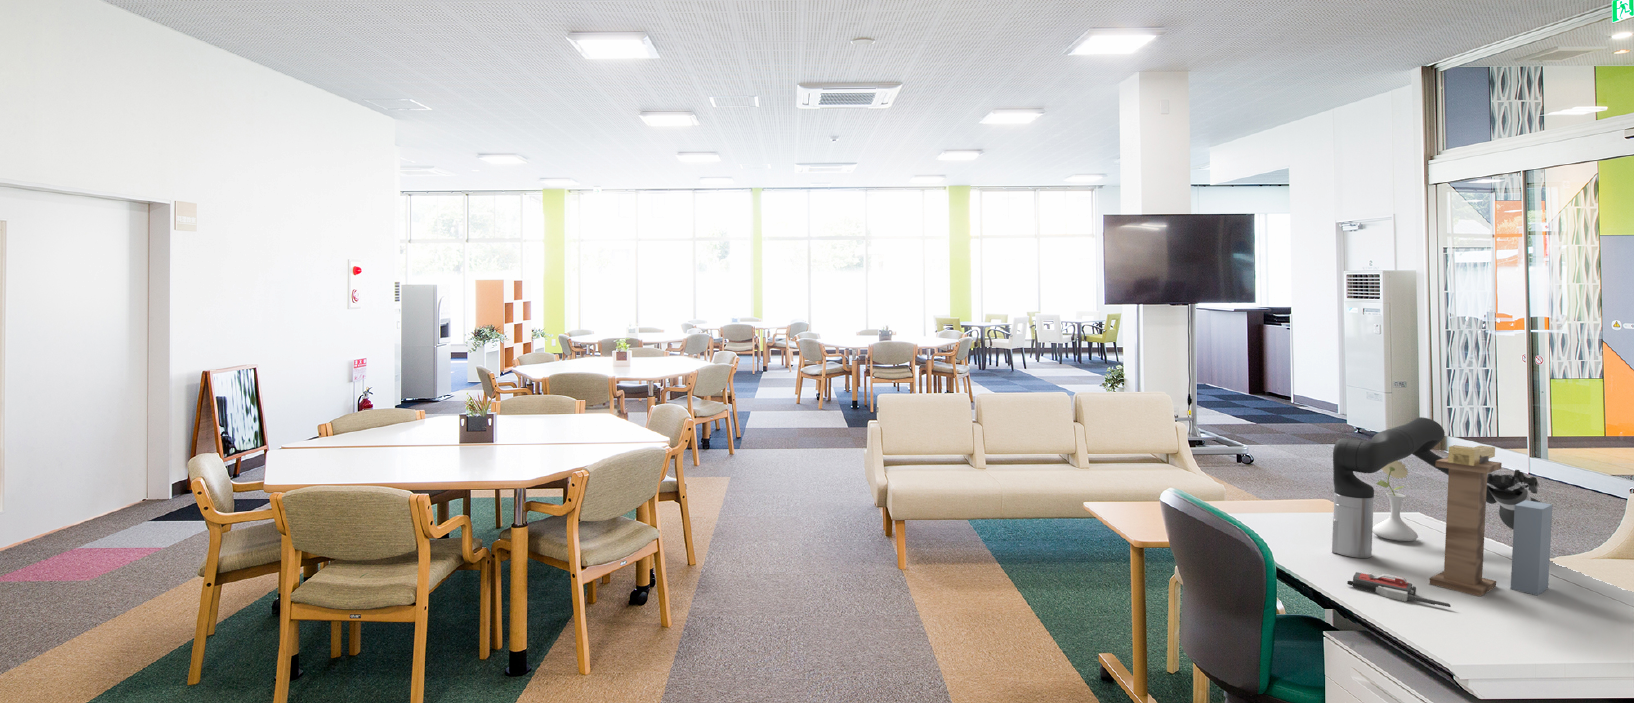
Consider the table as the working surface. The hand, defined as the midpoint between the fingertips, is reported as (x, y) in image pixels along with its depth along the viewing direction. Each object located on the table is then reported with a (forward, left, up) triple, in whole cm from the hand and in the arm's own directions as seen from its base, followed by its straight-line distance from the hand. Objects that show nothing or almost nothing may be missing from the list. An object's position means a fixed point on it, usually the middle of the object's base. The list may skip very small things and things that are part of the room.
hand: (1495, 470), depth 196 cm
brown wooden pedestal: (-7, -21, -27) cm, 35 cm away
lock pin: (-6, -16, +5) cm, 18 cm away
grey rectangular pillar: (+6, -13, -27) cm, 31 cm away
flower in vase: (-20, +19, -27) cm, 39 cm away
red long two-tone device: (-21, -39, -28) cm, 52 cm away
